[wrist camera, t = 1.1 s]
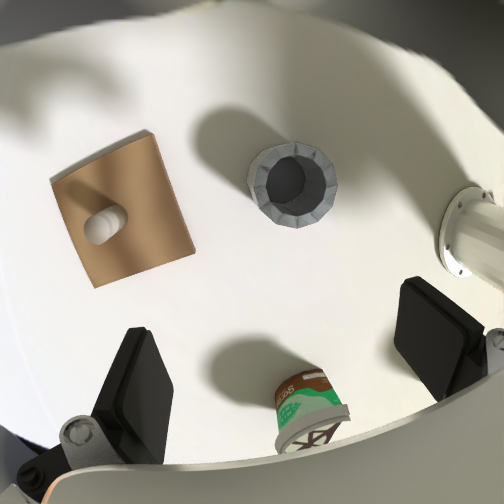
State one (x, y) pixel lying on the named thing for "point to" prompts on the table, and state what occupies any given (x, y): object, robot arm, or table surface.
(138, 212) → the wooden peg base
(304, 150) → the sleeve
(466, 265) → the robot arm
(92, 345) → the table surface
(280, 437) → the food container
